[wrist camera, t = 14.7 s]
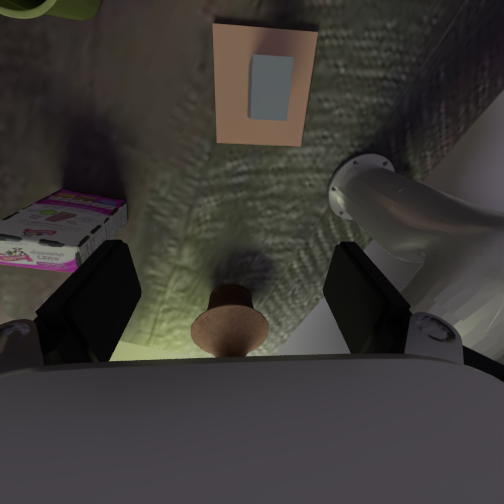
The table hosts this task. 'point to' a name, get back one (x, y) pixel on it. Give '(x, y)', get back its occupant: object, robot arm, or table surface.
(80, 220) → the candy bar box
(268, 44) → the tile
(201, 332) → the brown vase
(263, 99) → the block
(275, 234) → the table surface
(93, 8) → the plant pot
